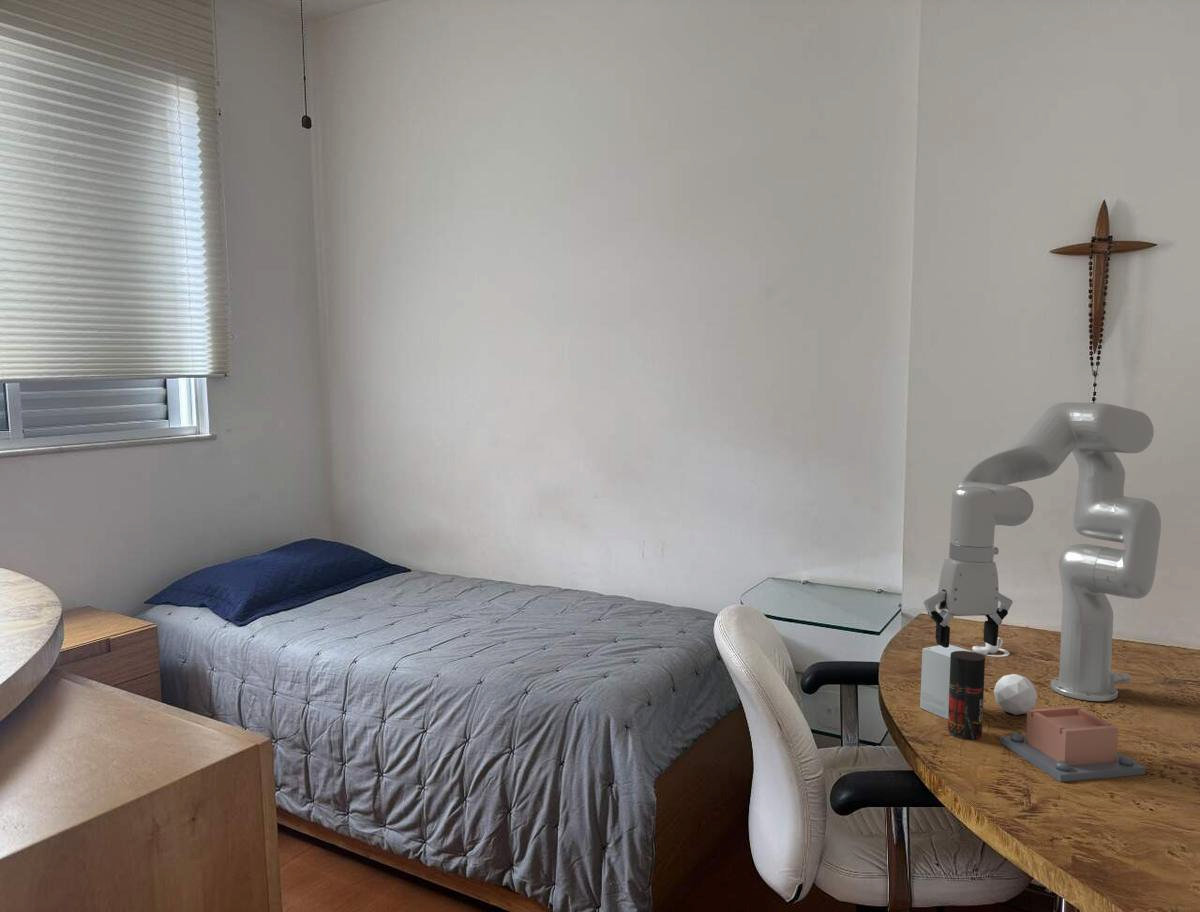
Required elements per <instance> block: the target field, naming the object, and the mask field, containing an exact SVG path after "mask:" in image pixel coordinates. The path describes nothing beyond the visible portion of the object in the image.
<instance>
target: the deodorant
mask: <svg viewBox="0 0 1200 912" xmlns="http://www.w3.org/2000/svg"><path fill="white" fill-rule="evenodd" d="M969 651H970V650H969ZM969 651H955V652H952V653H951V657H950V684H949V711H948V719H947V733H948V734H949V735H950V736H952V737H954V738H957V739H959V740H965V741H976V740H980V739H981V738H982V737H983V719H984V696H985V695H984V694H985V691H984V690H985V673H986V672H985V670H986V669H985V666H986V657H985V655H982V654H979V653H977V652H974V651H972V652H969Z"/></svg>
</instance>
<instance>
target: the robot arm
mask: <svg viewBox="0 0 1200 912" xmlns="http://www.w3.org/2000/svg"><path fill="white" fill-rule="evenodd" d="M1154 431H1155V430H1154V425H1153V422H1152V420H1151V419H1150V417H1149V416H1148V415H1147V414H1146V413H1144V412H1143V411H1140V410H1137V409H1133V408H1128V407H1124V406H1119V405H1116V404H1110V403H1103V402H1101V403H1100V402H1069V401H1068V402H1060V403H1059V402H1058V403H1055V404H1054V405H1051V406H1050V407H1048V409H1046V410H1045V412H1044V413H1043V414H1042V415H1041V416H1040V418H1039V419H1038V420H1037V421H1036V422H1035V424H1033V425H1032V427H1031V428H1030V429H1029V431H1028V432H1027V433H1026V434H1025V435H1024V436H1023V438H1022V439H1021V440H1020V441H1019V442H1018V443H1017V444H1015V445H1013V446H1011V447H1008V448H1005V449H1003V450H1001V451H999V452H997V453H995V454H992V455H991V456H989V457H988V456H987V457H986V458H983V459H982V460H981V461H979V462H978V463H977V464H975V465H974V466H972V468H970V469H969V471H968V472H967V473H965V475H964V477H963V478H962V479H961V480H960V481H959V483H958V484H957V486H956V488H954V489H953V491H952V494H951V511H950V514H951V515H950V529H949V551H948V558H946V559H944V561H943V564H942V568H941V571H940V576H939V581H938V588H937V593H936V594H935V595H933V596H930V597H929V598H926V599H925V600H924V602H923V604H924V606H925V610H926V611H927V615H928V616H929V617H930V618H931V620H933V622H934V623H935V640H936V644H937V645H941V646H943V647H944V648H948V647H949V644H950V636H951V635H950V633H951V627H950V626H948V624H949V623H950V622H951V620H953V619H954V617H975V616H976V617H977V616H984V617H985V618H986V619H987V620H984V623H983V638H982V639H983V643H985V642H986V643H988V644H990V645H992V646H996V645H997V639H998V637H999V626H1001V624H1002V623H1003V620H1004V619H1005V618H1006V617H1007V615H1008V613H1009V610H1010V608H1011V606H1012V605H1013V599H1011V598H1009V597H1008V596H1006V595H1004V594H1001V593H1000V592H999V575H998V574H999V573H998V569H997V564H996V562H995V561H994V556H995V555H998V554H999V552H1000V550H999V548H998V547H996V546H995V545H994V544H995V527H996V526H1005V527H1006V526H1007V527H1016V526H1019V525H1022V524H1024V523H1026V522H1027V521H1028V520H1029V519H1030V518H1031V516H1032V515H1033V512H1034V506H1035V505H1034V500H1033V497H1032V496H1031V494H1030V493H1029V492H1028V491H1026V489H1024V488H1021V487H1019V486H1014V485H1012V484H1017V483H1021V482H1023V483H1024V482H1028V481H1034V480H1038V479H1042V478H1045V477H1048V476H1051V475H1053V474H1054V473H1055V472H1057V470H1058V469H1059V468H1060V467H1061V466H1062V465H1063V463H1064V462H1065V461H1066V459H1067V458H1068V457H1069V455H1070V454H1071V453H1072V455H1073V456H1074V459H1075V460H1076V464H1077V467H1078V477H1077V478H1078V480H1077V488H1076V495H1075V503H1074V505H1075V506H1074V512H1073V527H1074V530H1075V531H1076V532H1077V533H1078V534H1079V535H1080V536H1083V537H1086V538H1091V539H1096V540H1101V541H1108V542H1115V543H1122V544H1123V545H1124V549H1120V548H1119V549H1118V548H1114V547H1109V546H1101V545H1096V544H1087V543H1076V544H1072V545H1069V546H1067V547H1066V548H1065V549H1063V551H1062V552H1061V553H1060V554H1061V555H1060V557H1059V561H1058V570H1059V577H1060V583H1061V584H1060V585H1061V590H1062V591H1061V592H1062V610H1061V611H1062V613H1061V625H1060V626H1061V630H1060V631H1061V632H1060V649H1059V653H1060V654H1059V670H1058V672H1059V673H1058V677H1055V678H1053V679H1051V680H1050V688H1051V689H1052V690H1053V691H1054V692H1055V693H1057V694H1059V695H1063V696H1066V697H1068V698H1073V699H1076V700H1082V701H1090V702H1109V701H1114V700H1115V699H1117V698H1118V697H1119V696H1118V695H1119V691H1118V689H1117V688H1116V687H1115V686H1116V685H1117V684H1118V683H1119V684H1124V683H1126V684H1127V683H1129V682H1131V676H1130V675H1129V673H1125V672H1124V673H1117V674H1116V672H1115V671H1113V670H1111V669H1112V668H1111V667H1112V652H1113V651H1112V649H1113V632H1114V631H1113V629H1114V610H1113V606H1112V605H1111V602H1110V600H1109V598H1108V596H1107V595H1112V596H1116V597H1121V598H1125V599H1132V600H1133V599H1134V600H1137V599H1138V600H1139V599H1142V598H1145V597H1146V596H1148V595H1149V593H1150V592H1151V590H1152V588H1153V584H1154V582H1155V581H1154V580H1155V576H1156V569H1157V562H1158V561H1157V560H1158V554H1159V546H1160V539H1161V531H1162V530H1161V529H1162V519H1161V514H1160V510H1159V508H1158V507H1157V505H1156V504H1155V503H1154V502H1152V501H1150V500H1148V499H1145V498H1140V497H1132V496H1131V497H1130V496H1125V494H1124V490H1125V482H1126V481H1125V480H1126V471H1125V468H1124V465H1123V463H1122V462H1121V460H1120V458H1119V457H1118V455H1117V453H1121V454H1139V453H1142V452H1143V451H1145V450H1146V449H1148V447H1149V446H1150V445H1151V443H1152V441H1153V439H1154ZM999 602H1000V605H999ZM937 609H938V610H939V611H937Z"/></svg>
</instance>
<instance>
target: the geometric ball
mask: <svg viewBox="0 0 1200 912" xmlns="http://www.w3.org/2000/svg"><path fill="white" fill-rule="evenodd" d="M993 695H994V699H995V702H996V704H997V705H998V707H1000V708H1001V710H1002V711H1004V712H1006V713H1008V714H1012V715H1014V716H1017V715H1022V714H1023V715H1024V714H1027V710H1029V709H1034V707H1035V706H1036V701H1037V698H1038V694H1037V691H1036V688H1035V685H1034V684H1033V683H1032V682H1031V681H1030V680H1029V679H1028V678H1027V677H1025V676H1022V675H1019V674H1017V673H1011V674H1006V675H1003V676H1002V677H1000V678H999V680H998V681H996V683H995V686H994V689H993Z"/></svg>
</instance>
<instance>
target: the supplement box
mask: <svg viewBox="0 0 1200 912" xmlns="http://www.w3.org/2000/svg"><path fill="white" fill-rule="evenodd" d="M921 650H922V651H921V652H922V653H921V654H922V655H921V676H920V677H921V678H920V696H919V697H920V699H919V702H920V703H919V705H920V706H919V708H920V709H922V710H924V711H926V712H929V713H931V714H933V715H936V716H938V717H939V718H940V717H941V718H942V719H945V720H948V711H949V684H950V657H951V653H952V652H955V651H969V652H973V650H968V649H965V648H962V647H958V646H956V645H952V644H950V643H949V647H948V648H944V647H943V646H941V645H939V644H937V645H934V646H933V645H932V646H929V647H924V648H922V649H921Z"/></svg>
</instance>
